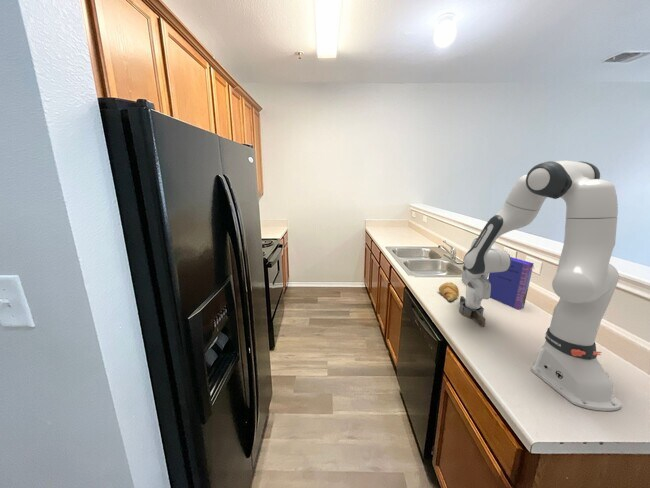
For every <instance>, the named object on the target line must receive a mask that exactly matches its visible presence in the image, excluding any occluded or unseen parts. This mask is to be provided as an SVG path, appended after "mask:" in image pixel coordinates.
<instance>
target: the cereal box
mask: <svg viewBox="0 0 650 488" xmlns="http://www.w3.org/2000/svg"><path fill="white" fill-rule="evenodd" d="M510 257H511V265H510V267H509V269H508V270H507V271H504V272H494V273H489V274H488V278H487V279H488V281H489V282H490V284H491V293H490V298H489V299H492V300H494V301H497V302H499V303H501V304H503V305H506V306H508V307H511V308H513V309H516V310H517V311H518V310H521V309H525V304H526V300H527V294H528V291H529V288H530V287H529V286H530V281H531V277H532V272H533V269H534V263H533V262H530V261H526V260H522V259H519V258H515V257H512V256H510Z"/></svg>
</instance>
